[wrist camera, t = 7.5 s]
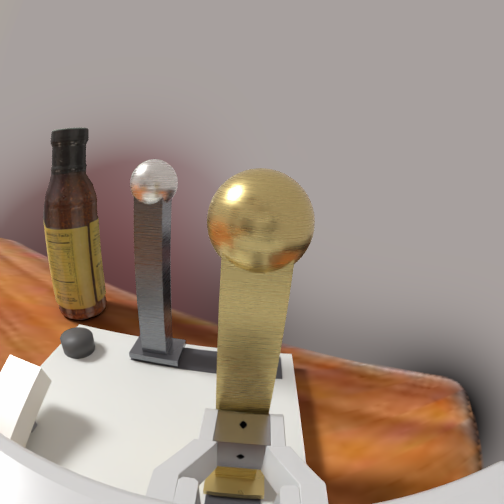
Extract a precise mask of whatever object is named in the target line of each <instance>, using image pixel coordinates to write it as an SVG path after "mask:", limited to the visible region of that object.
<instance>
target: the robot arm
mask: <svg viewBox="0 0 504 504" xmlns="http://www.w3.org/2000/svg"><path fill="white" fill-rule="evenodd" d="M217 466H221V467H234V468H246V469H258V470H261V472H262V473H263V475H264V476H265V478H266V479H267V480H268V482H269V483H270V485H271V486H272V488H273V489H274V490H275V492H276V493H277V497H276V499H275V501H274V504H328V498H327V491H326V484H325V483H324V482H323V481H322V480H321V479H320V478H319V477H318V476H317V475H316V474H315V473H314V471H313V470H312V469H311V468H310V467H309V466H308V465H307V464H306V463H305V462H304V461H303V460H302V459H301V458H300V457H299V456H298V455H297V454H296V453H295V452H294V450H293V449H292V448H291V447H290V446H286V440H285V426H284V416H283V414H264V413H247V412H244V413H243V412H234V411H226V410H218V409H211V408H205V410H204V413H203V418H202V423H201V427H200V432H199V437H198V439H193V440H192V441H191V442H189V443H188V444H187V445H185V446H184V447H183V448H182V449H180V450H179V451H178V452H176V453H175V454H174V455H172V456H171V457H170V458H168V459H167V460H166V461H164V462H163V463H162V464H160V465H159V466H158V467H156V468H155V469H154V470H153V473H152V476H151V479H150V482H149V486H148V489H147V492H146V495H145V496H144V495H140V494H137V493H133V492H129V491H126V490H123V489H120V488H116V487H113V486H110V485H107V484H104V483H102V482H99V481H96V480H93V479H91V478H88V477H86V476H83V475H81V474H78V473H76V472H73V471H71V470H69V469H66V468H64V467H62V466H60V465H58V464H55V463H53V462H51V461H49V460H47V459H45V458H43V457H41V456H39V455H37V454H35V453H34V452H32V451H30V450H28V449H26V448H24V447H23V446H21V445H19V444H17V443H16V442H14V441H12V440H11V439H9V438H7V437H6V436H4V435H3V434H1V433H0V504H201V501H200V492H199V485H200V484H201V483H202V482H203V481H204V480H205V479H206V478H207V477H208V476H209V475H210V474H211V473H212V472H213V471H214V470H215V469H216V468H217ZM374 504H504V461H500V462H497V463H495V464H493V465H491V466H489V467H487V468H485V469H482V470H480V471H478V472H476V473H473V474H471V475H468V476H466V477H464V478H461V479H458V480H456V481H453V482H450V483H448V484H445V485H442V486H439V487H436V488H433V489H430V490H427V491H423V492H420V493H416V494H413V495H409V496H405V497H401V498H397V499H393V500H389V501H384V502H379V503H374Z"/></svg>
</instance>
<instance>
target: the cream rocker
mask: <svg viewBox="0 0 504 504" xmlns="http://www.w3.org/2000/svg"><path fill="white" fill-rule="evenodd" d="M51 382H52V381H51V380H50V378H49V377H48V376H47V374H46V373H45V372H44V371H43V369H42V368H41V367H39V366H36V365H34V364H31V363H29V362H26V361H24V360H21V359H19V358H17V357H14V356H12V355H10V356H9V358H8V359H7V361H6V363H5V365H4V367H3V369H2V371H1V373H0V433H1V434H3V435H4V436H6V437H7V438H9V439H11V440H12V441H14V442H16V443H17V444H19V445H21V446H23V447H24V448H25V447H26V444H27V441H28V438H29V436H30V433H31V430H32V428H33V425H34V422H35V420H36V417H37V415H38V412H39V410H40V407H41V405H42V403H43V400H44V398H45V396H46V393H47V391H48V389H49V386H50V384H51Z"/></svg>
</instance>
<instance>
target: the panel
mask: <svg viewBox="0 0 504 504" xmlns="http://www.w3.org/2000/svg"><path fill="white" fill-rule="evenodd" d="M137 339H138V336H133V335H127V334H122V333H117V332H112V331H107V330H102V329H98V328H93V327H89V326H85V325H80V324H79V325H78V326H77V327H76V328H71V329H68V330H66V331H65V332H64V333H63V334H62V335H61V337H60V340H61V344H60V345H59V347H58V348H57V349H56V350H55V351H54V352H53V353H52V354H51V355H50V356H49V357H48V359H47V360H46V361H45V362H44V363H43V364H42V365H41V366H40V367H41V368H42V369H43V371H44V372H45V373H46V374H47V376H48V377H49V378H50V380H51V381H52V382H51V384H50V386H49V389H48V391H47V393H46V396H45V398H44V400H43V403H42V405H41V407H40V410H39V412H38V415H37V417H36V420H35V422H34V425H33V428H32V430H31V433H30V436H29V438H28V441H27V444H26V447H25V448H26V449H28V450H30V451H32V452H34V453H35V454H37V455H39V456H41V457H43V458H45V459H47V460H49V461H51V462H53V463H55V464H58V465H60V466H62V467H64V468H66V469H69V470H71V471H73V472H76V473H78V474H81V475H83V476H86V477H88V478H91V479H93V480H96V481H99V482H102V483H104V484H107V485H110V486H113V487H116V488H120V489H123V490H126V491H129V492H133V493H137V494H140V495H144V496H145V495H146V492H147V489H148V486H149V482H150V479H151V476H152V473H153V470H154V469H155V468H156V467H158V466H159V465H160V464H162V463H163V462H164V461H166V460H167V459H168V458H170V457H171V456H172V455H174V454H175V453H176V452H178V451H179V450H180V449H182V448H183V447H184V446H185V445H187V444H188V443H189V442H191V441H192V440H193V439H198V437H199V432H200V427H201V423H202V418H203V413H204V410H205V408H211V409H216V378H217V348H213V347H204V346H196V345H189V344H186V346H185V348H184V351H183V354H182V356H181V359H180V362H179V364H178V366H172V365H166V364H161V363H155V362H149V361H144V360H139V359H134V358H130V356H129V352H130V350H131V349H132V347H133V345H134V344H135V342H136V341H137ZM269 414H283V416H284V426H285V440H286V446H290V447H291V448H292V449H293V450H294V452H295V453H296V454H297V455H298V456H299V457H300V458H301V459H302V460H303V461H304V462H305V463H306V459H305V451H304V442H303V434H302V427H301V419H300V411H299V404H298V396H297V389H296V382H295V375H294V367H293V360H292V354H281V353H280V356H279V362H278V367H277V373H276V378H275V384H274V389H273V394H272V400H271V405H270V410H269ZM204 482H205V480H204V481H203V482H202V483H201V484H200V485H199V492H200V501H201V504H274V501H275V499H276V497H277V493H276V492H275V490H274V489H273V488H272V486H271V485H270V483H269V482H268V480H267V479H266V478H265V476H264V498H263V499H251V498H235V497H224V496H215V495H207V494H203V488H204Z"/></svg>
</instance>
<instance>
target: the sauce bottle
mask: <svg viewBox="0 0 504 504" xmlns="http://www.w3.org/2000/svg"><path fill="white" fill-rule="evenodd" d="M87 141H88V129H87V128H67V129H58V130H53V131H52V135H51V145H52V149H53V150H52V168H51V172H52V173H51V178H50V183H49V186H48V189H47V192H46V196H45V204H44V213H43V220H44V230H45V238H46V245H47V253H48V260H49V266H50V272H51V278H52V283H53V288H54V293H55V298H56V302H57V303H58V304H59V309H60V311H61V313H62V314H63V315H64V316H66V317H68V318H70V319H75V320H84V319H87V318H90V317H94V316H97V315H99V314H100V313H101V312H103V310H104V309H105V306H106V297H105V294H106V290H105V283H104V275H103V266H102V258H101V249H100V235H99V221H98V216H97V198H96V193H95V190H94V187H93V184H92V182H91V181H90V179H89V178H88V176H87V175H86V163H85V162H86V143H87Z"/></svg>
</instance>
